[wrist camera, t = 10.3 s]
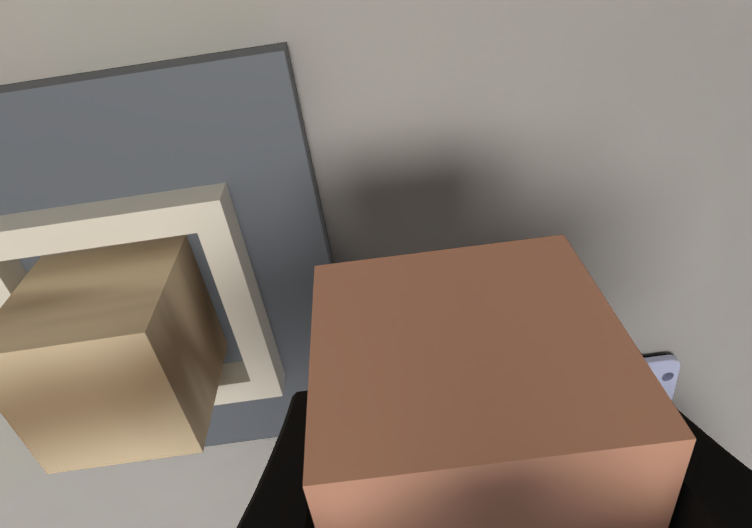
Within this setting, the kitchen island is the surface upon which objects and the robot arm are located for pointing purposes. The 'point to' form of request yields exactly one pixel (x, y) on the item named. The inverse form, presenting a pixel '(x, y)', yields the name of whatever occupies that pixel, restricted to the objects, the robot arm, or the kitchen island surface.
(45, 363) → the oak block
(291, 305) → the slate baseplate
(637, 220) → the kitchen island surface
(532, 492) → the terracotta block
